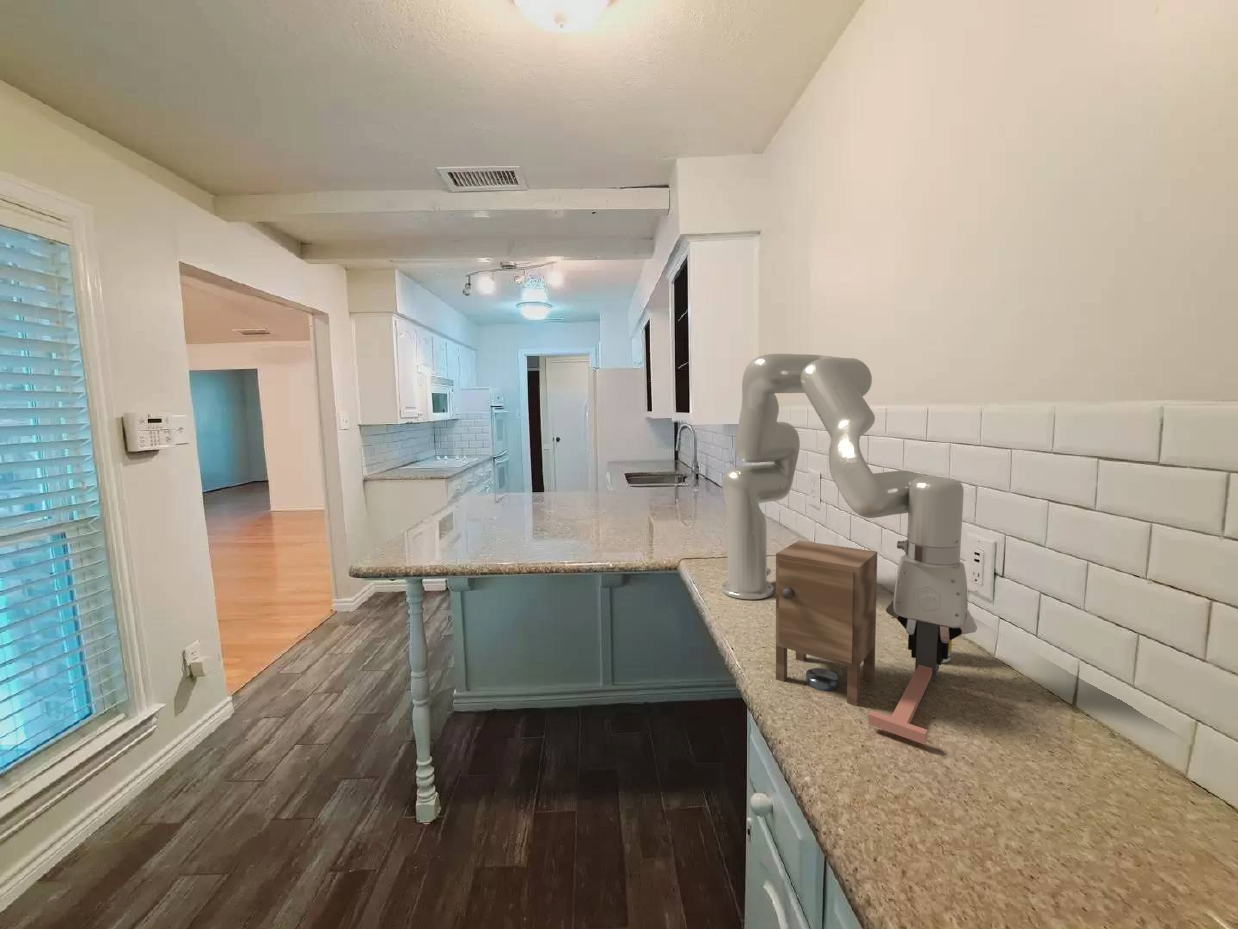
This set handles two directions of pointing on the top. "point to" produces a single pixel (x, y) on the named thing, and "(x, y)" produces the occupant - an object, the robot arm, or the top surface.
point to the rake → (913, 687)
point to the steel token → (822, 679)
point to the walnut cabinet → (827, 608)
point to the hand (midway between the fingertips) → (927, 657)
